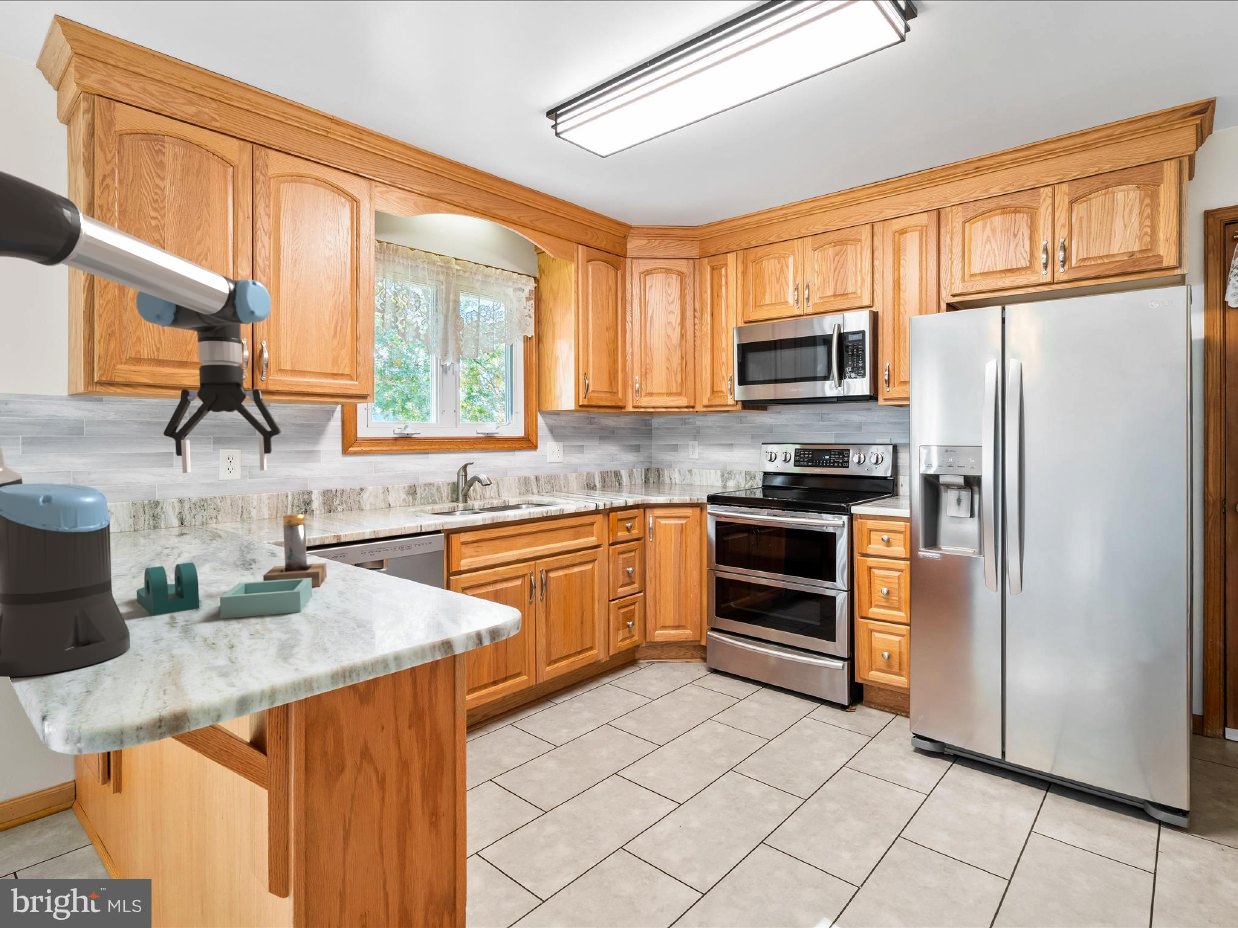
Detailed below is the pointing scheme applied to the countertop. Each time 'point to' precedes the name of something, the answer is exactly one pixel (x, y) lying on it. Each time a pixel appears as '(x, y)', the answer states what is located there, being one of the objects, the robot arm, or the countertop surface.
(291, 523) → the hitch pin
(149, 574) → the bracket
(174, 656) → the countertop surface
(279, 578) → the collar block
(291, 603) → the tray
